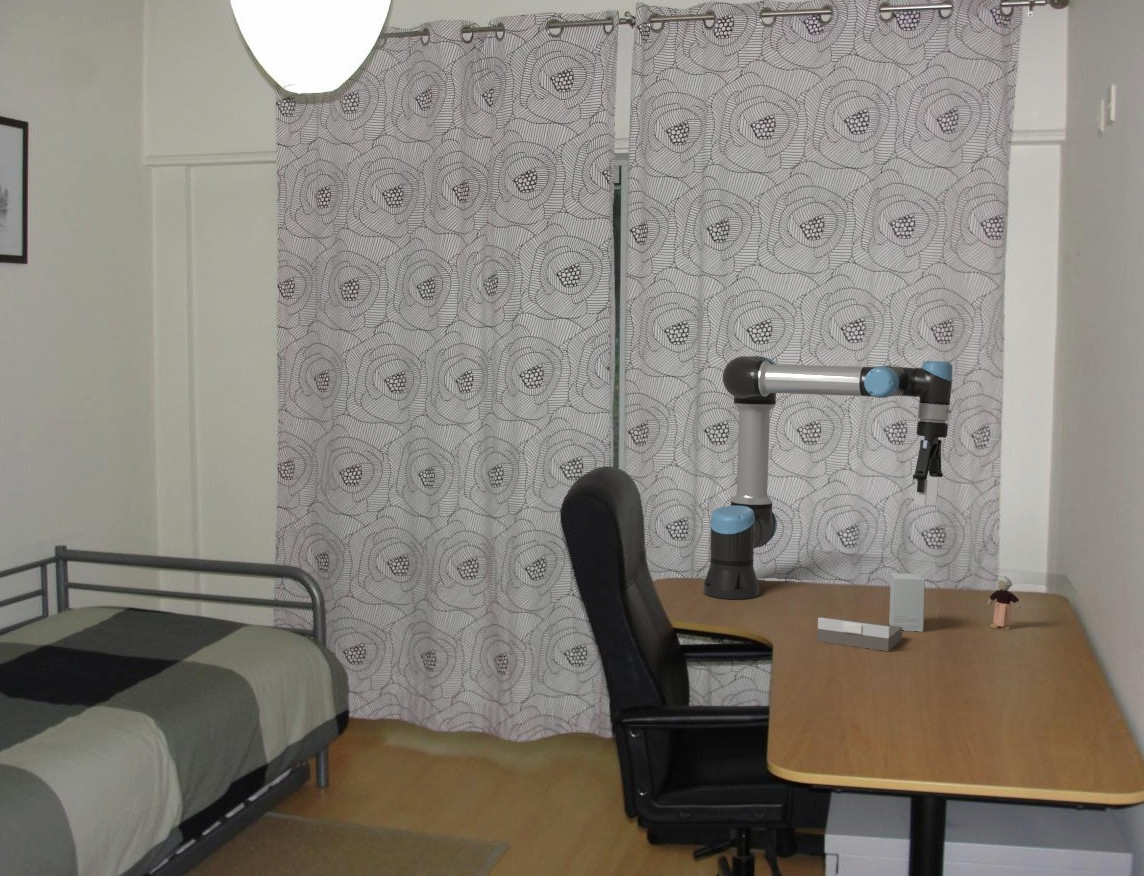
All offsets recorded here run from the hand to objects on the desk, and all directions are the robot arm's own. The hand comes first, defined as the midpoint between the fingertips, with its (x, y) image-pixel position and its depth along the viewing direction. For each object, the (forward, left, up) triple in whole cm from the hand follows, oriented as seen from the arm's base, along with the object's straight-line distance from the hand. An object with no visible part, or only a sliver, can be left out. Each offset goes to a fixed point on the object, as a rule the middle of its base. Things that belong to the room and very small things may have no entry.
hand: (925, 503), depth 281 cm
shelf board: (-4, -42, -27) cm, 50 cm away
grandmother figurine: (+22, -12, -27) cm, 37 cm away
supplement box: (+2, -24, -27) cm, 37 cm away
